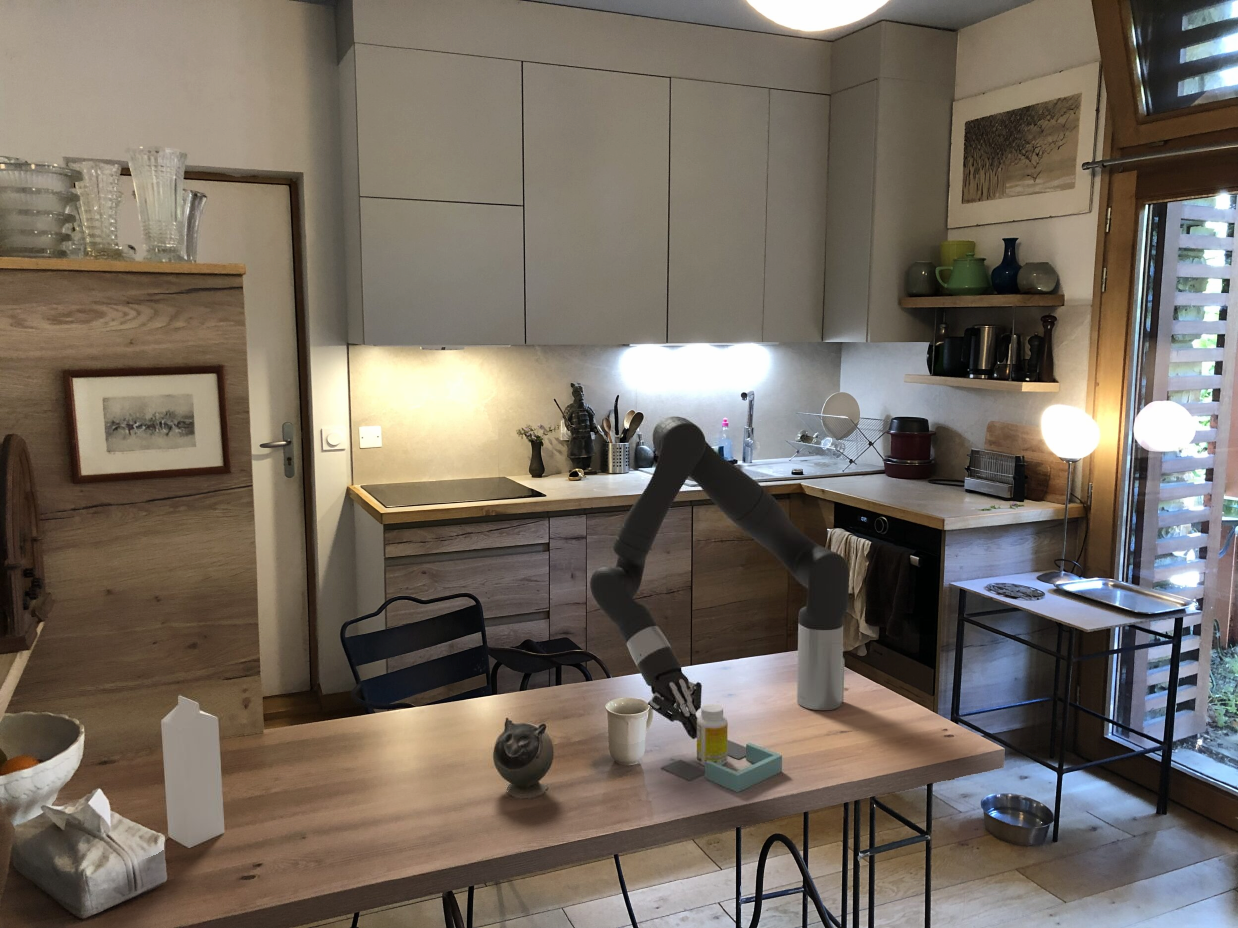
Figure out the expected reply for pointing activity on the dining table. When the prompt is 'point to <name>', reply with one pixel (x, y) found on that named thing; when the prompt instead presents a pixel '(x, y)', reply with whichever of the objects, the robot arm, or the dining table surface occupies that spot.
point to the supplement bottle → (712, 735)
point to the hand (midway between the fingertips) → (698, 736)
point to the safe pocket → (746, 769)
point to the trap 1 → (684, 770)
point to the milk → (192, 774)
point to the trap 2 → (735, 750)
